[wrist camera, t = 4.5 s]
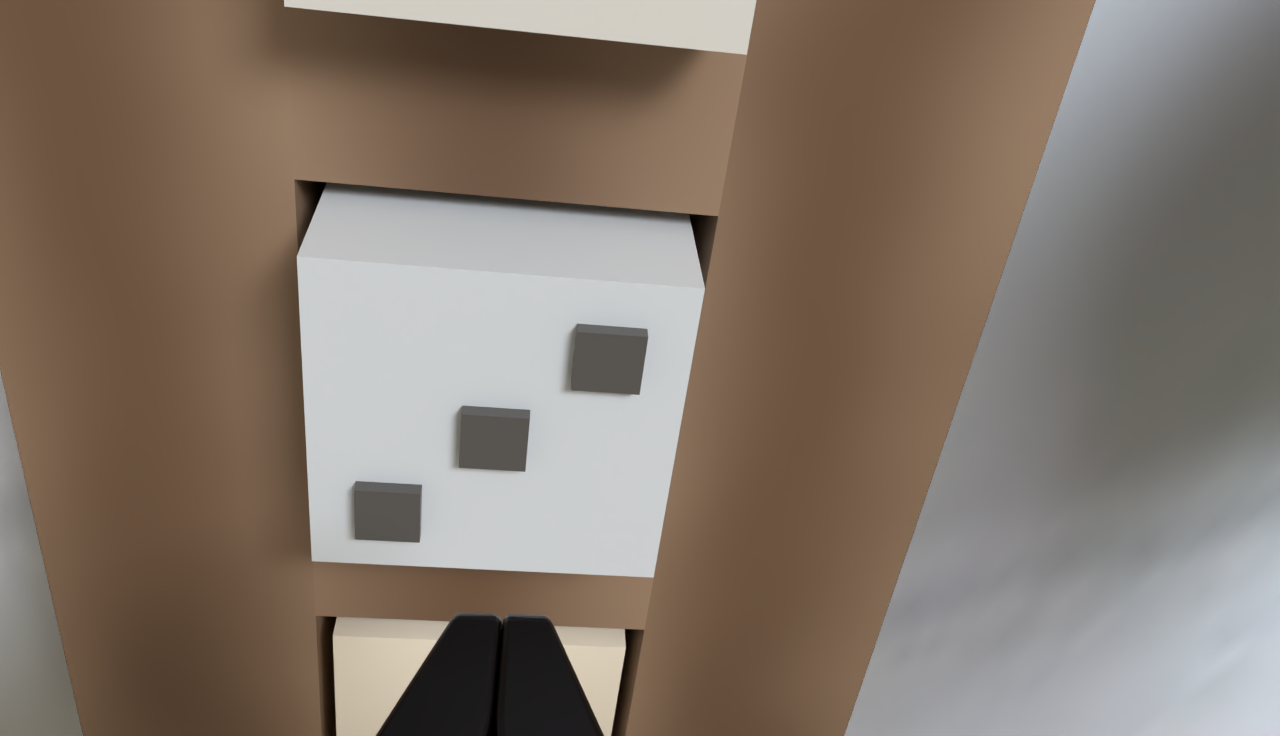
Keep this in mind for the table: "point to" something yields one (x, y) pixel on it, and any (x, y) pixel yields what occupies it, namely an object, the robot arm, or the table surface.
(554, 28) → the two pip button
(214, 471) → the board
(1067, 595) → the table surface
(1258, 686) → the table surface
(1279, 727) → the table surface
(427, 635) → the one pip button
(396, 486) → the three pip button
